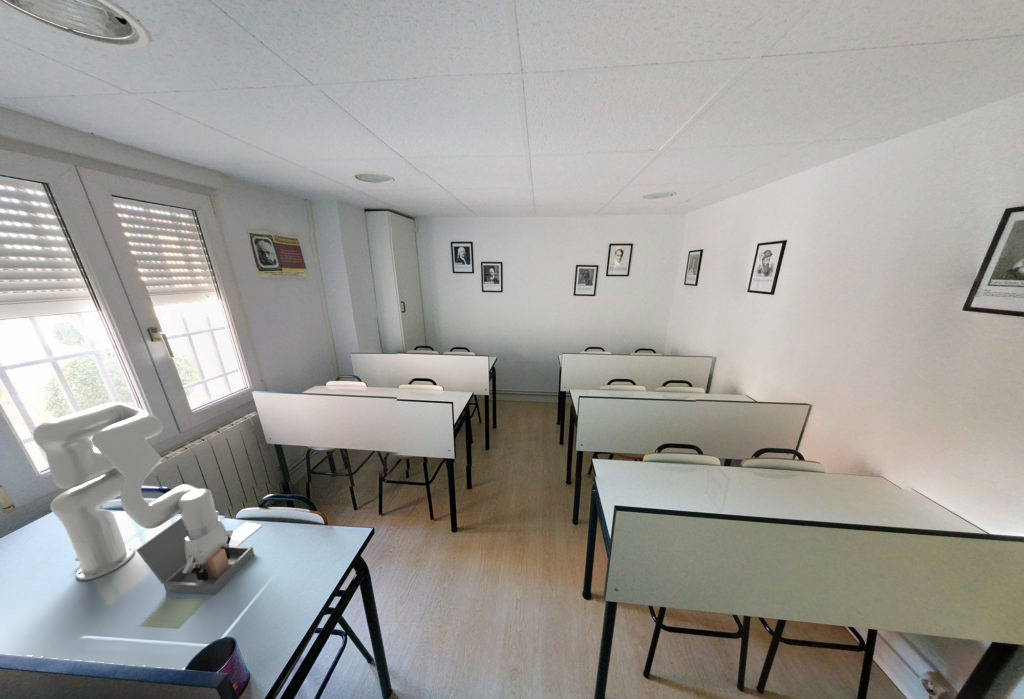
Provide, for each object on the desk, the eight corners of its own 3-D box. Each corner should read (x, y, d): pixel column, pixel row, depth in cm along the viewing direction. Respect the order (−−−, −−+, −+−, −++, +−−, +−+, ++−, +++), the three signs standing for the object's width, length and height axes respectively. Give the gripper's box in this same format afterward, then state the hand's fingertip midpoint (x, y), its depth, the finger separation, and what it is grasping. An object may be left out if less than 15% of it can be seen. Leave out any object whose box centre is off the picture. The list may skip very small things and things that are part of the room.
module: (201, 576, 105) (195, 558, 102) (212, 565, 108) (207, 547, 106) (218, 578, 104) (213, 559, 102) (229, 567, 108) (224, 548, 106)
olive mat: (139, 627, 90) (139, 625, 90) (170, 599, 98) (169, 597, 98) (179, 630, 90) (178, 628, 90) (206, 601, 98) (206, 600, 97)
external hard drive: (263, 528, 126) (231, 554, 114) (247, 524, 127) (213, 550, 116) (262, 524, 125) (230, 551, 114) (246, 521, 127) (212, 546, 115)
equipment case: (151, 591, 100) (135, 549, 96) (197, 551, 114) (186, 512, 110) (215, 596, 99) (203, 553, 95) (254, 555, 113) (245, 516, 109)
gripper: (217, 505, 110) (227, 545, 114) (161, 548, 93) (176, 593, 98) (237, 506, 110) (247, 546, 114) (185, 549, 93) (199, 594, 97)
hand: (214, 567), depth 106 cm, fingers open, 6 cm apart
